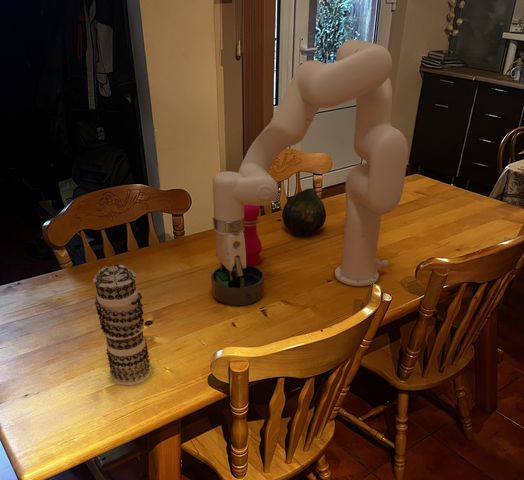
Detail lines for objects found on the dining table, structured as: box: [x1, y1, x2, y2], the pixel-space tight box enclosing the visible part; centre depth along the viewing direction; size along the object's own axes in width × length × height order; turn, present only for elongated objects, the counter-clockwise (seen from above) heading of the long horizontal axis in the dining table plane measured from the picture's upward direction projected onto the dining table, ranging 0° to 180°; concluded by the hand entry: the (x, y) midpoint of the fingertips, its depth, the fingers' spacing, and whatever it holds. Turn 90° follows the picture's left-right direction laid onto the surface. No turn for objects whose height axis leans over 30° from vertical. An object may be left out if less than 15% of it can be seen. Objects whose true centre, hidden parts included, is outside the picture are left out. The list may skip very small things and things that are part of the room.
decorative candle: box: [92, 264, 152, 386], centre depth 109 cm, size 9×9×25 cm
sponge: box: [217, 270, 244, 287], centre depth 143 cm, size 6×4×4 cm
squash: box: [281, 187, 327, 236], centre depth 178 cm, size 14×15×15 cm
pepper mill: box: [243, 205, 263, 266], centre depth 156 cm, size 7×7×20 cm
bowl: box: [210, 265, 265, 307], centre depth 144 cm, size 14×14×6 cm
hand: (230, 287), depth 144 cm, fingers closed on sponge, 4 cm apart
